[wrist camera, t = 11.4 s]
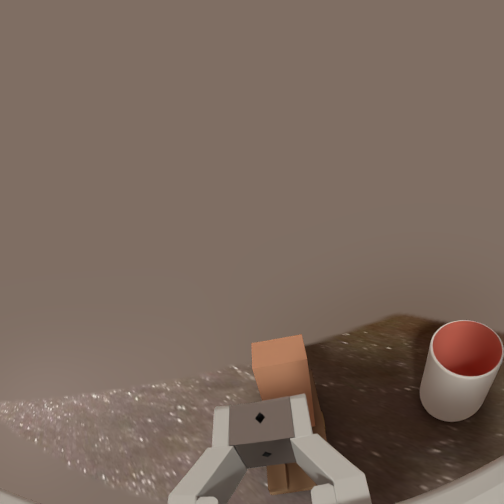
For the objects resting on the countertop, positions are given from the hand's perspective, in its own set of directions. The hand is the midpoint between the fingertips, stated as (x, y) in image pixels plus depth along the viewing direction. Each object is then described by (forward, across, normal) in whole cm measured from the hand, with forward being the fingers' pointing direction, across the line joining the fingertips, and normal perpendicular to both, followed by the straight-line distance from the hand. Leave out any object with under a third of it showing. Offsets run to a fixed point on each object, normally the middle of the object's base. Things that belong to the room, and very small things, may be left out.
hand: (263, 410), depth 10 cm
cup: (+15, -22, +30) cm, 40 cm away
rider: (+16, 0, +26) cm, 30 cm away
